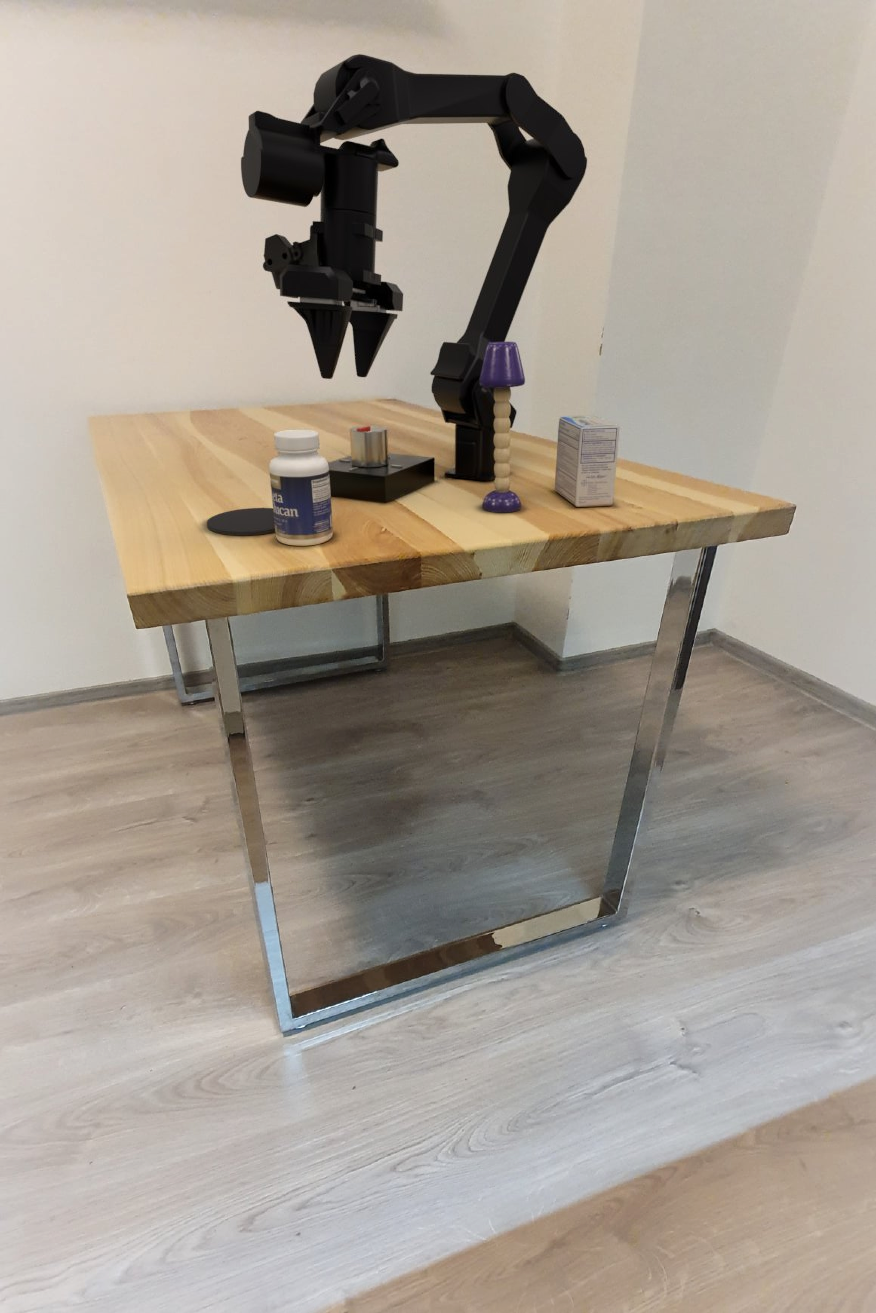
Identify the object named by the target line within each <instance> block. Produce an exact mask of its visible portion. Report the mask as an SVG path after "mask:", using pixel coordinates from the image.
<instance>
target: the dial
mask: <svg viewBox="0 0 876 1313" xmlns="http://www.w3.org/2000/svg"><path fill="white" fill-rule="evenodd" d="M349 441H350V456H351V463H352V465H354V466H357V467H381V466H385V465H388V464H389V454H388V453H389V428H387V427H386V426H381V425H360V426H353V427H350V428H349Z"/></svg>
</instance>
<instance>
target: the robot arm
mask: <svg viewBox="0 0 876 1313" xmlns="http://www.w3.org/2000/svg"><path fill="white" fill-rule="evenodd" d="M312 95H313V104H312V106H310V108H309V110H308V111H307V112H306V114H305V115H304V117H303V118H302V120H301V122H297V121H292V120H288V119H284V118H281V117H280V118H279V117H278V116H277V117H276V116H275V115H273V114H271V113H269V112H266V111H262V110H256V111H253V112H252V113H250V114H249V115H248V130H247V133H246V136H245V139H244V143H243V144H244V145H243V152H242V153H243V155H242V156H241V158H240V173H241V180H242V186H243V190H244V192H245V194H246V196H247V197H248V198H250V199H257V200H261V201H267V202H274V203H278V204H279V203H280V204H285V205H290V206H296V207H303V208H307V207H309V205H311V202H312V201H313V199H314V198H317V197H319V195H320V208H319V209H320V215H319V216H320V217H319V218H320V220H319V221H318V220H312V224H311V225H310V227H309V239H307V240H303V241H301V242H299V241H293V242H292V243H291V242H290V240H288V238H287V237H286V236H284V235H281V234H277V233H275V234H272V235H271V236H268V237H266V238H264V250H263V260H264V262H263V263H262V268H263V270H264V271H265V272H269V273H270V274H271V277H272V279H273V283H274V286H275V289H276V290H279V297H285V298H291V299H299V301H288V300H287V305H288V307H289V308H292V309H293V310H294V311H295V312H296V313H297V314H298V315H299V316H300V317H301V319H303V321H304V322H305V324H306V327H307V331H308V333H309V336H310V339H311V343H312V347H313V352H314V355H315V359H316V362H317V365H318V366H317V367H318V370H319V374H320V377H321V378H322V379H324V380H325V379H326V380H331V379H333V377H334V374H335V372H336V368H337V366H338V362H339V358H340V355H341V351H342V348H343V345H344V341H345V338H346V334H347V330H348V328H349V324H350V325H351V328H352V329H351V330H352V341H353V354H354V364H355V372H356V376H357V377H358V378H367V377H368V375H369V372H370V371H371V368H372V366H373V364H374V362H375V360H376V358H377V355H378V353H379V351H380V349H381V347H382V345H383V343H384V341H385V339H386V337H387V336H388V333H389V331H390V329H391V327H392V326H393V323H394V322H395V320H397V319H398V313H393V312H403V310H404V309H403V308H404V306H403V305H404V292H403V291H402V290H401V289H400V287H399V286H398V285H397V283H396V284H395V283H392V282H388V281H382V274H380V273H376V252H377V251H376V249H377V246H376V245H377V242H378V243H379V242H380V243H383V240H384V239H383V238H384V230H382V229H380V228H377V220H378V218H377V217H378V216H377V214H378V189H379V188H378V186H379V172H380V173H381V172H385V171H389V170H392V169H396V168H398V166H399V164H400V162H399V159H398V158H397V157H396V156H395V154H394V153H393V152H392V150H390V148H389V147H388V145H387V143H386V140H385V139H384V138H383V137H381V138H379V139H377V140H373V141H371V143H370V144H369V145H368V144H365V143H361V142H360V143H359V142H356V141H351V139H355V138H359V137H362V136H366V135H370V134H373V133H376V132H379V131H384V130H386V129H390V128H393V127H396V126H401V125H433V124H434V125H438V124H447V125H448V124H487V125H488V127H489V128H490V130H491V131H492V133H493V137H494V140H495V144H496V147H497V151H498V154H499V157H500V158H501V160H502V161H503V163H504V164H505V165H506V166H507V168H508V169H509V172H510V173H509V178H508V181H507V199H508V200H507V201H508V214H507V218H506V220H505V223H504V225H503V228H502V232H501V234H500V237H499V239H498V242H497V244H496V247H495V250H494V253H493V256H492V258H491V261H490V264H489V267H488V270H487V272H486V275H485V277H484V280H483V283H482V286H481V288H480V291H479V294H478V296H477V299H476V302H475V304H474V307H473V309H472V313H471V315H470V318H469V321H468V323H467V326H466V329H465V331H464V333H463V335H462V336H460V338H459V339H458V340H457V341H456V342H450V341H444V342H443V343H442V344H441V346H440V349H439V353H438V358H437V362H436V363H435V366H434V367H433V369H432V370H431V371H430V373H429V374H430V375H431V376H433V378H432V382H431V393H432V396H433V398H434V401H435V403H436V404H437V406H438V407H439V408H440V411H441V414H442V417H443V421H444V423H447V424H454V467H452V468H450V469H448V470H446V471H444V473H443V476H444V477H449V478H458V479H459V478H460V479H466V480H467V479H468V480H475V481H477V480H478V481H487V482H488V481H489V482H490V481H492V480H493V481H494V480H495V478H496V476H495V473H494V465H495V463H496V462H495V460H494V450H495V448H496V447H495V445H494V435H495V430H494V419H495V415H494V404H495V399H494V388H487V387H482V386H480V384H479V380H480V374H481V370H482V365H483V361H484V356H485V352H486V348H487V345H488V344H489V343H491V342H506V339H507V337H508V335H509V331H510V329H511V327H512V323H513V321H514V318H515V315H516V313H517V310H518V307H519V305H520V302H521V300H522V297H523V295H524V292H525V289H526V287H527V284H528V281H529V279H530V276H531V273H532V271H533V268H534V265H535V263H536V260H537V257H538V255H539V252H540V250H541V247H542V244H543V242H544V240H545V236H546V234H547V232H548V229H549V227H550V225H551V224H552V223H553V222H554V221H555V220H556V218H558V217H559V215H560V214H561V213H562V212H563V211H564V210H565V209H566V207H567V206H568V205H569V204H570V203H571V201H572V200H573V198H574V196H575V194H576V192H577V190H578V189H579V186H580V185H581V183H582V181H583V179H584V177H585V174H586V170H587V168H588V157H587V156H586V152H585V148H584V145H583V142H582V140H581V138H580V137H579V136H578V134H576V133H575V132H574V130H573V129H572V127H571V126H570V124H569V123H568V122H567V120H566V117H565V116H563V115H562V113H561V112H559V111H558V110H557V109H556V108H554V107H553V106H552V105H551V104H549V103H548V102H547V101H546V100H544V99H543V98H542V97H541V96H539V94H537V92H536V91H535V89H534V87H533V86H532V84H531V83H530V81H529V80H528V79H527V78H526V77H525V75H523V74H520V73H517V72H510V73H508V74H504V75H502V74H459V73H457V74H456V73H455V74H454V73H453V74H452V73H416V72H412V71H408V70H405V69H403V68H402V67H400V66H399V65H397V64H395V63H394V62H392V61H388V60H384V59H381V58H377V57H374V56H370V55H366V54H361V53H358V54H354V55H350V56H349V57H348V58H346V59H344V60H343V61H341V62H339V63H338V64H335V65H334V66H332V67H331V68H329V69H327V70H325V71H324V72H323V73H321V74H320V75H319V77H318V79H317V81H316V82H315V86H314V90H313V94H312ZM521 130H522V131H523V132H525V133H526V134H527V135H528V136H530V137H531V138H530V139H528V140H527V138H526V137H525V136H524V134H523V133H522V131H521ZM332 139H334V140H339V141H343V142H342V143H341V144H340V146H339V147H338V148H336V147H331V146H327V145H322V143H324V142H327V141H329V140H332ZM387 311H390V312H387ZM391 312H392V313H391ZM509 403H510V406H511V412H510V415H509V419H510V423H511V426H510V429H512V428H513V426H514V422H515V419H516V416H517V414H518V413H517V409H516V408H515V407H514V405H513V404H512V403H511V402H510V401H509Z"/></svg>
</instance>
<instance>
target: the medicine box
mask: <svg viewBox="0 0 876 1313" xmlns="http://www.w3.org/2000/svg"><path fill="white" fill-rule="evenodd" d="M557 428H558V429H557V445H556V463H555V475H554V476H555V477H554V491H555V492H556V493H558V494H559V495H561V496H562V497H563V498H564V499H566V500H567V501H568V502H570V503H571V504H573V506H575V507H578V508H588V507H589V508H590V507H610V506H611V505H613V504H614V495H615V485H616V474H617V473H616V472H617V464H618V452H619V441H620V425H619V424H617V423H615V422H613V421H611V420H608V419H606V418H603V417H599V416H598V415H595V414H594V415H592V414H583V415H582V414H581V415H579V414H577V415H575V414H574V415H566V416H560V417H559V419H558V427H557Z"/></svg>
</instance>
